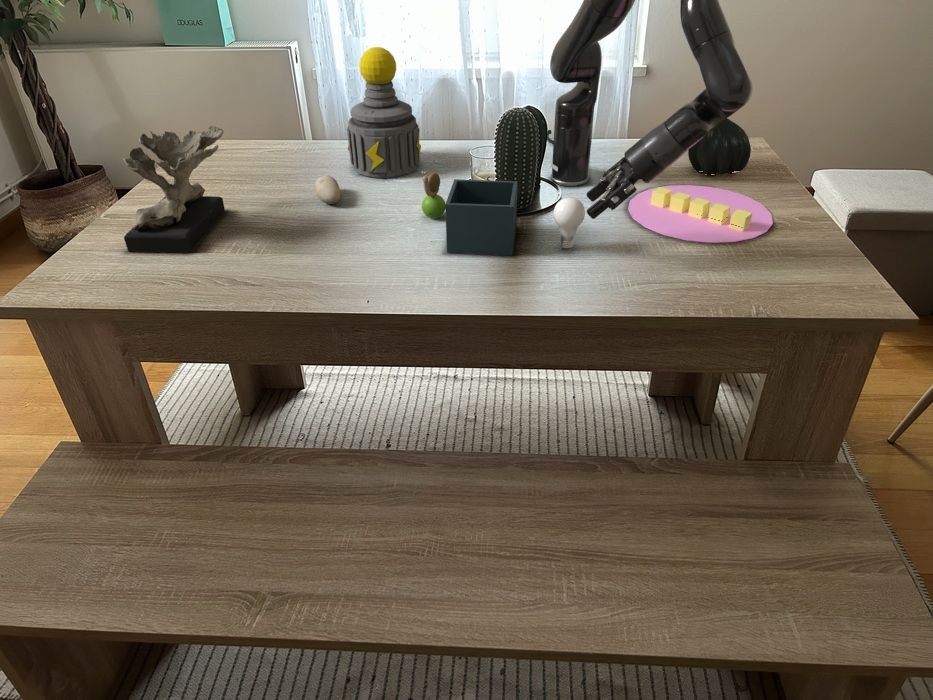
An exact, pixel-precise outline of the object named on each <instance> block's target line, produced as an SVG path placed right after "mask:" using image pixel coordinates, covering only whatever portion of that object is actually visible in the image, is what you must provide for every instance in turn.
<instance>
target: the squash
mask: <svg viewBox="0 0 933 700" xmlns="http://www.w3.org/2000/svg"><path fill="white" fill-rule="evenodd" d="M751 152H752V147H751V143H750V139H749V136H748V134H747V133H746V131H745V130H744V129H743V128H742V127H741V126H740V125H739V124H738V123H736V122H734V121H733V120H731V119H729V118H727V119H725V120H724V121H723V122H721V123H720V124H718V125H717V126H715V127H714V128H713V129H711V130H710V131H709V133H708V134H707V135H705V136H704V137H703V138H702V139H701V140H700V141H699V142H698V143H696V144H695V145H694V146H692V147H691V148H690V149H689V150H687V156H688V160H689V162H690V164H691V167H692V169H693V170H694V171H695V170H696V171H695V173H698V174H700V175H705V174H707V175H705V176H706V177H710V178H711V177H715V176H716V175H719V174H720V175H719V176H724V175H736V174H739V172H737V173H732V172H734V171H740V172H742V171H743V170H744V169H745V168H746V167H747V165H748V163H749V161H750V158H751ZM741 170H742V171H741ZM699 171H703V172H699ZM716 173H717V174H716ZM711 174H715V175H711Z"/></svg>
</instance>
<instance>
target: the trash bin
mask: <svg viewBox="0 0 933 700" xmlns="http://www.w3.org/2000/svg"><path fill="white" fill-rule="evenodd" d="M518 184H519V183H518V180H489V179H488V180H487V179H486V180H484V179H483V180H482V179H459V178H458V179H457V178H455V179H454V180H453V182H452V185H451V187H450V191H449V193H448V196H447V199H446V201H445V237H446V239H445V240H446V254H456V255H457V254H458V255H459V254H460V255H481V256H503V257H505V256H506V257H512V256H513V254H514V246H515V239H516V233H517V232H516V231H517V217H518V214H517V213H518V212H517V211H518Z"/></svg>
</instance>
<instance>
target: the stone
mask: <svg viewBox="0 0 933 700" xmlns="http://www.w3.org/2000/svg"><path fill="white" fill-rule="evenodd" d="M314 190H315V193H316V196H317V197H318V198H319V200H321V201H322V202H324V203H326V204H328V205H329V204H331V205H332V204H336V203H338V202H339V201H340V200H341V195H342V192H341V188H340V185H339V183H338V181H337V179H335V178H334V176H332V175H328V174H325V175H322V176H320V177H319V178H317V179H316V181H315V183H314Z"/></svg>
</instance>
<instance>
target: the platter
mask: <svg viewBox="0 0 933 700" xmlns="http://www.w3.org/2000/svg"><path fill="white" fill-rule="evenodd" d="M627 211H628V212H629V214H630V216H631V218H632V219H633V220H634V221H636V222H637V223H638V224H640V225H641V226H642V227H644V228H645V229H648V230H650V231H653V232H654V233H657V234H659V235H662V236H665V237H669V238H674V239H678V240H682V241H688V242H696V243H697V242H698V243H706V244H722V243H723V244H726V243H738V242H743V241H747V240H753V239H755V238H757V237H760V236H761V235H764V234H765V233H767V232H768V231H769V230H770V228H771V227H772V226H773V224H774V220H773V214H772V212H770V210H768V208H766V206H765V205H764V204H762V203H760V202H758V201H757V200H755V199H753V198H751V197H750V196H747V195H745V194H741V193H738V192H735V191H732V190H728V189H723V188H717V187H713V186H705V185H695V184H677V185H675V184H673V185H664V186H659V187H652V188H649V189H647V190H644V191H641V192H638V193H637V194H635V196H633V197H632V198H631V199H629V204H628V208H627ZM707 211H708V212H707ZM706 212H707V213H706ZM697 214H698V215H697ZM703 214H704V215H703ZM701 215H702V216H701ZM708 217H709V218H708ZM726 217H728V218H726ZM711 218H713V219H711ZM725 218H726V219H725ZM714 219H716V220H714ZM724 219H725V220H724ZM718 220H720V221H718ZM722 220H723V221H722ZM721 221H722V222H721ZM729 223H730V224H729ZM749 223H750V224H749ZM731 224H734V225H731ZM747 224H749V225H747ZM735 225H737V226H735ZM746 225H747V226H746ZM738 226H740V227H738ZM745 226H746V227H745ZM741 227H744V228H741Z"/></svg>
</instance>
